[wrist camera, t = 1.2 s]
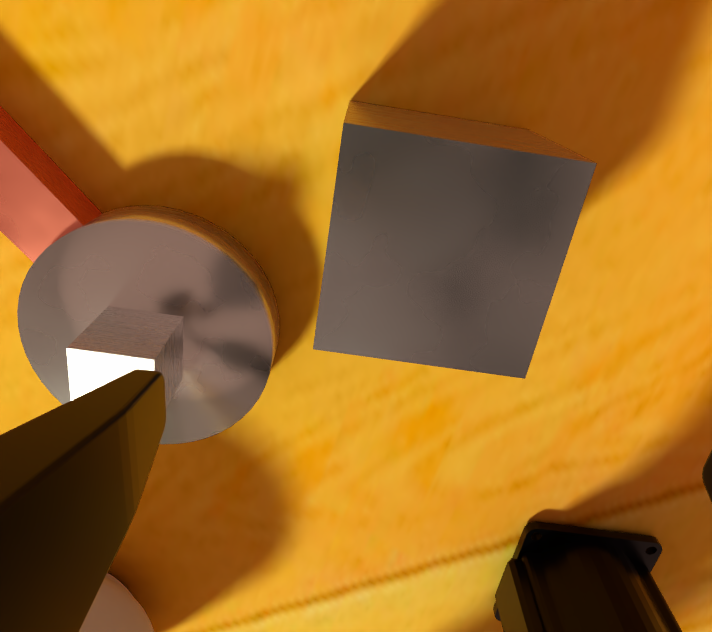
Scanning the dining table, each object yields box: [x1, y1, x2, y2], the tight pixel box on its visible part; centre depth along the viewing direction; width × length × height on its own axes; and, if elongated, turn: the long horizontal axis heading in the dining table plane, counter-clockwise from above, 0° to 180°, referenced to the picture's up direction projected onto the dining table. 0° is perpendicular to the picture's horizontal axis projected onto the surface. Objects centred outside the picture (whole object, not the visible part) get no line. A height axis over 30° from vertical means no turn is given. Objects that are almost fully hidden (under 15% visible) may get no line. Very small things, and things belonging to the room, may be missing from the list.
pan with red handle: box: [0, 106, 280, 444], centre depth 18 cm, size 18×9×5 cm, turn 37°
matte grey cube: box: [313, 101, 597, 378], centre depth 17 cm, size 6×6×6 cm
